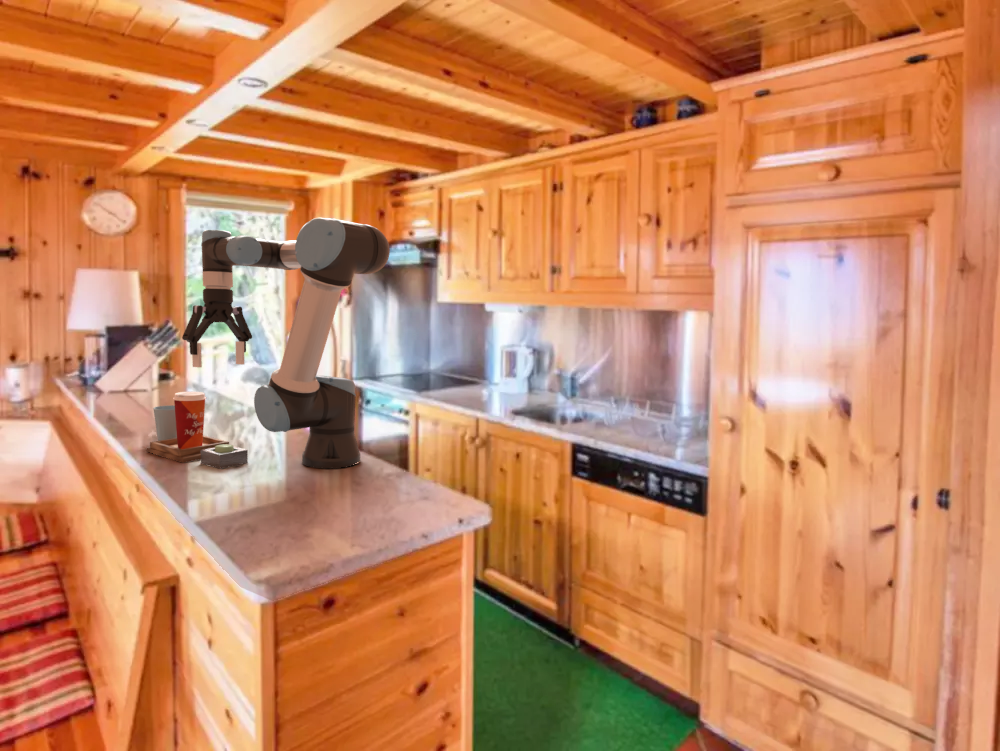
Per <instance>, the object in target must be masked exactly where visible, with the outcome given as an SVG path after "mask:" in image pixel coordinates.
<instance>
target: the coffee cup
mask: <svg viewBox="0 0 1000 751" xmlns="http://www.w3.org/2000/svg"><path fill="white" fill-rule="evenodd" d="M206 399H207V397H206V393H205V392H202V391H179V392H175V393H174V396H173V398H172V400H173V401H174V403H173V404H174V406H175V417H176V431H177V443H178V448H179V449H186V448H191V447H197V446H202V443H203V435H204V429H205V428H204V424H205V412H206V410H205V408H206Z"/></svg>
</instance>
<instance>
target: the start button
mask: <svg viewBox="0 0 1000 751" xmlns="http://www.w3.org/2000/svg"><path fill="white" fill-rule="evenodd" d="M230 451H234V445H233V444H230V443H229V444H223V445H217V446H215V452H219V453H225V452H230Z"/></svg>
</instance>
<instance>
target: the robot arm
mask: <svg viewBox="0 0 1000 751" xmlns="http://www.w3.org/2000/svg"><path fill="white" fill-rule="evenodd" d="M200 246H201V260H202V261H201V262H202V263H201V264H202V266H201V267H202V286H203V287H205V288H203V290H202V300H203V303H204V305H203V306H202V305H197V304H196V305H195V304H194V305H192V314H191V316H190V318H189V321H188V323H187V325H186V328H185V330H184V332H183V334H182V337H181V338H182V340H183V341H186V342H187V343H188V344H189V354H190V355H191V356H192V357H191V358H192V368H202V366H203V365H202V364H203V362H202V361H203V360H202V343H201V342H199V341H200V340H201V338H202V337H203V335H204V334H205V333H206V331H207V330H208V329H209V328H210V326H211V325H212V324H214V323H223V324H225V325H226V326H227V327H228V328H229V330H230V331H231V333H232V334H233V335H234V337H235V338H236V339H237V341H235V365H242V366H243V365H244V366H245V353H246V352H247V342H249V340H251V339H252V338H253V335H252V333H251V330H250V328H249V325H248V323H247V321H246V319H245V316H244V314H243V312H244V311H243V308H242V306H238V305H237V306H233V305H232V304H233V302H234V290H233V289H231V288H233V286H234V281H233V280H234V278H233V277H234V276H233V275H234V274H233V266H234V267H235V266H242V267H255V268H264V269H265V268H268V269H269V268H270V269H278V270H284V271H291V270H298V269H299V272H300V273H301V275H302V276H303V278H304V280H303V285H302V288H301V292H300V294H299V300H298V303H297V306H296V310H295V313H294V318H293V320H292V324H291V327H290V331H289V335H288V338H287V342H286V346H285V348H284V349H285V350H284V352H283V356H282V360H281V364H280V367H279V368H278V369H275V370H274V371H272V373H271V375H270V379H269V382H268V384H263V385H261V386H259V387H258V388H257V389H256V391H255V393H254V398H253V404H254V405H253V406H254V407H253V408H254V411H255V413H256V417H257V419H258V421H259V423H260V424H261V426H262V427H263V428H264V429H266V430H267V431H268V432H272V433H279V432H280V433H281V432H284V433H287V432H290V431H295V430H301V429H307V428H309V433H308V437H307V440H306V444H305V447H304V450H303V452H302V455H301V463H302V465H304V466H306V467H311V468H314V469H315V468H317V469H325V468H333V469H342V468H341V467H345V468H347V467H346V466H350V465H353V464H355V463H357V462H359V461H360V462H361V451H360V450H359V446H358V442H357V438H356V435H355V422H356V421H355V418H356V417H355V416H356V415H355V413H356V397H357V395H356V384H355V382H354V381H353V380H352V379H350V378H344V377H336V376H329V375H319V374H317V373H318V370H319V367H320V364H321V360H322V358H323V354H324V351H325V348H326V344H327V341H328V338H329V334H330V331H331V327H332V324H333V322H334V317H335V314H336V311H337V308H338V304H339V301H340V297H341V293H342V291H343V290H345V289H347V288H350V286H351V284H352V281H353V279H354V275H355V274H357V275H370V274H375V273H376V272H379V271H380V270H382V269H383V268H384V267H385V266H386V264H387V263H388V261H389V259H390V253H391V252H390V251H391V250H390V243H389V240H388V238H387V237H386V236H385V234H384V232H382V231H381V230H380V229H378V228H377V227H375V226H372V225H370V224H365V223H364V224H363V223H357V222H351V221H347V220H341V219H336V218H334V217H327V218H326V217H315V218H313V219H310V220H309V221H307V222H306V223H305V224H304V225H303V226H302V227H301V228H300V230H299V232H298V234H297V237H296V239H295V240H285V241H284V240H282V241H281V240H280V241H277V240H269V239H268V240H267V239H262V238H255V237H253V236H251V235H241V234H239V235H237V236H236V235H235V236H233V235H232V233H231V232H230V231H227V230H221V229H206V230H204V231H202V233H201V244H200ZM203 314H205V315H204V316H203ZM232 314H233V316H232ZM202 316H203V317H202ZM350 467H351V466H350Z"/></svg>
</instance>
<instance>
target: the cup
mask: <svg viewBox="0 0 1000 751" xmlns="http://www.w3.org/2000/svg"><path fill="white" fill-rule="evenodd" d="M152 409H153V410H152V411H153V416H154V424H155V432H156V436H157V441H161V440H167V439H173V438H177V431H176V417H175V404H174V405H159V406H155V407H153V408H152Z"/></svg>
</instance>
